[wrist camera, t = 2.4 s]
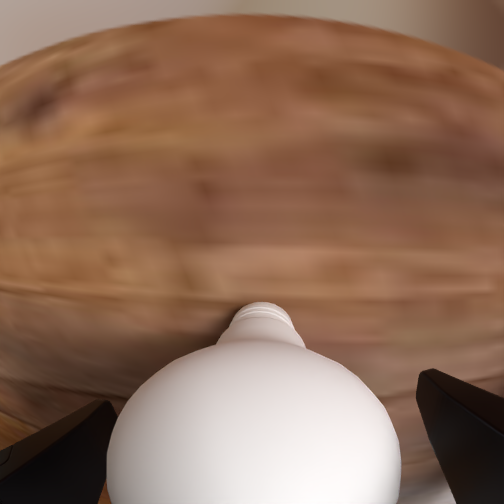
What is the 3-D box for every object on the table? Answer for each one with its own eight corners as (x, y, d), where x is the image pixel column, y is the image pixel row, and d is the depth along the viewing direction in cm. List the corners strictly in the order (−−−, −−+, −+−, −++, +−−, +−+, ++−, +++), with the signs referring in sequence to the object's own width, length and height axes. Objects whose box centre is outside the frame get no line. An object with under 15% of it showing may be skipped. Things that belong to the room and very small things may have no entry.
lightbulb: (183, 364, 14) (94, 580, 3) (201, 237, 13) (-5, 444, 2) (311, 388, 14) (344, 611, 3) (350, 267, 12) (522, 493, 2)
